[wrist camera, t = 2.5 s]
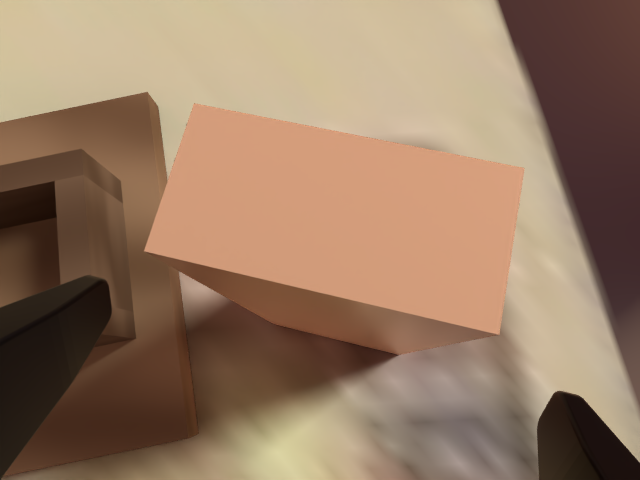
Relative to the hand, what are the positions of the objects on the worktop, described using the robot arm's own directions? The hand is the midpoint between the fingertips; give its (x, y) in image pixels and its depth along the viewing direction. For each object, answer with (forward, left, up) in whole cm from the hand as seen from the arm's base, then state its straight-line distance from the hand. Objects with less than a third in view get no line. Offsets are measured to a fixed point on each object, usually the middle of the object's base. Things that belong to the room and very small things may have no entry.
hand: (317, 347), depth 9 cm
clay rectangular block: (+2, -1, -9) cm, 10 cm away
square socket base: (+4, +11, -9) cm, 15 cm away
